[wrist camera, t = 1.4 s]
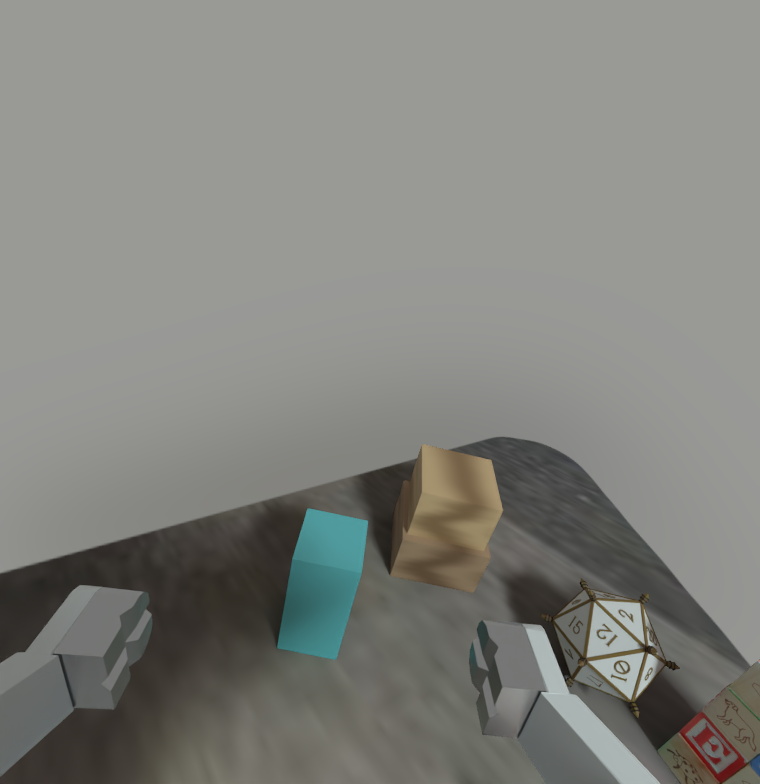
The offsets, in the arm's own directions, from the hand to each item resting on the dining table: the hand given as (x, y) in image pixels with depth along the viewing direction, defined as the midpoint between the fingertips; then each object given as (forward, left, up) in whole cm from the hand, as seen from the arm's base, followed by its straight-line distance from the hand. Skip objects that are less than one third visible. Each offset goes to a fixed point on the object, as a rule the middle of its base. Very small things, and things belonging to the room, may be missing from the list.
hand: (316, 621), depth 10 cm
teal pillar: (0, +14, -23) cm, 27 cm away
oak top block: (+10, +24, -18) cm, 32 cm away
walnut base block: (+10, +24, -23) cm, 35 cm away
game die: (+23, +15, -23) cm, 36 cm away
